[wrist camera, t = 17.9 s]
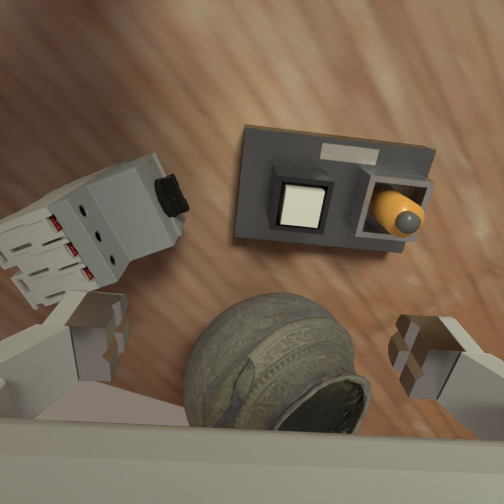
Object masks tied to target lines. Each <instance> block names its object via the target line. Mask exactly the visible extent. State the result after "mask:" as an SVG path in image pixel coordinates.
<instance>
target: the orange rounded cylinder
mask: <svg viewBox="0 0 504 504" xmlns="http://www.w3.org/2000/svg"><path fill="white" fill-rule="evenodd" d="M368 212H369V213H370V214H371V215H372V216H373V217H374V218H375V219H376V220H377V221H378V222H379V223H380V224H381V225H382V226H383V227H384V228H385V229H386V230H387V231H388V232H389V233H390V234H392V235H393V236H395V237H398V238H406V237H409V236H412V235H413V234H415V233H416V232H417V231H418V230H419V229H420V228H421V227H422V225H423V222H424V211H423V209H422V208H421V207H420V206H419V205H418V204H416V203H415V202H413V201H412V200H410V199H409V198H407V197H405V196H404V195H402V194H401V193H399V192H398V191H396V190H395V189H393V188H391V187H389V186H381V187H378V188H376V189H374V190H373V193H372V196H371V200H370V204H369V207H368Z"/></svg>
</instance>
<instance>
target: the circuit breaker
mask: <svg viewBox="0 0 504 504" xmlns="http://www.w3.org/2000/svg"><path fill="white" fill-rule="evenodd" d="M178 185H179V184H178V182H177V180H176V177H175V175H174V174H172V175H169V176H166V173H165V171H164V169H163V167H162V165H161V163H160V161H159V159H158V157H157V154H156V152H152V153H150V154H147V155H145V156H142V157H140V158H137V159H134V160H132V161H129V162H128V161H127V160H125V161H122V162H120V163H117V164H115V165H112V166H110V167H107V168H105V169H102V170H99V171H97V172H94V173H92V174H89V175H87V176H84V177H82V178H79V179H77V180H74V181H72V182H71V183H69V184H67V183H66V184H64V185H63V186H62V187H59V188H57V189H55V190H53V191H51V192H50V193H48V194H46V195H44V197H43V198H41V199H39V200H38V201H36V202H34V203H32V204H31V205H29V206H27V207H25V208H23V209H22V210H20V211H18V212H16V213H14V214H11V215H9V216H6V217H5V218H3V219H1V220H0V251H1V252H2V253H3V255H4V256H5V257H6V259H5V260H4V259H3V257H2V256H1V255H0V266H1V267H2V268H3V270H5V269H8V268H10V267H13V266H16V265H17V266H18V267H19V269H20V270H19V271H18V272H17V273H15V274H14V275H13V276H12V277H11V278H10V279H11V280H12V281H13V283H14V284H15V285H16V287H17V288H18V289H19V290H20V292H21V293H22V294H23V296H24V297H25V298H26V299H27V301H28V302H29V303H30V305H31V306H32V307H33V309H34V310H37V309H38V308H39V306H38V305H39V304H41V303H43V304H44V305H45V306H49V305H52V304H54V303H57V302H60V301H61V300H62V299H63V298H64V296H65V295H66V294H67V293H68V291H70V290H87V291H92V290H95V289H98V288H101V287H104V286H107V285H110V284H112V283H115V282H117V281H118V280H119V278H120V277H121V275H122V274H123V272H124V271H125V269H126V268H127V266H128V264H129V263H130V261H132V260H135V259H138V258H141V257H143V256H146V255H149V254H152V253H155V252H158V251H160V250H163V249H166V248H169V247H172V246H174V245H175V243H176V241H177V238H178V236H180V235H182V233H183V231H182V227H183V224H184V222H185V220H186V216H185V213H184V212H187V211H189V206H188V203H187V201H186V199H184V197H183V194H182V192H181V190H180V188H179V186H178ZM21 279H22V280H23V281H24V283H25V284H26V285H27V286H28V288H27V289H26V287H25V286H24V285H23V284H22V282H21V281H20V280H21Z"/></svg>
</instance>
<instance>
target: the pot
mask: <svg viewBox="0 0 504 504" xmlns="http://www.w3.org/2000/svg"><path fill="white" fill-rule="evenodd" d="M354 357H355V354H354V347H353V343H352V340H351V337H350V335H349V333H348V331H347V330H346V329H345V328H344V327H343V326H342V325H341V324H340V323H339V322H338V321H337V320H336V319H335V318H334V317H333V316H332V315H331V313H330V312H329V311H328V310H327V309H325V308H324V307H323V306H321V305H319V304H318V303H316V302H314V301H312V300H310V299H307V298H304V297H302V296H299V295H296V294H290V293H270V294H262V295H257V296H254V297H251V298H248V299H246V300H243V301H241V302H239V303H237V304H235V305H233V306H231V307H230V308H228V309H227V310H225V311H224V312H223V313H221V314H220V315H219V316H218V317H216V318H215V319H214V320H213V321H212V322H211V323H210V325H209V326H208V327H207V328H206V329H205V330H204V332H203V333H202V334H201V336H200V337H199V338H198V340H197V341H196V343H195V345H194V347H193V349H192V351H191V354H190V356H189V359H188V361H187V364H186V368H185V372H184V378H183V389H182V394H183V401H184V408H185V412H186V416H187V419H188V422H189V425H190V427H209V428H231V429H252V430H274V431H296V432H318V433H340V434H344V433H343V432H345V434H355V433H356V432H357V430H358V429H359V428H360V426H361V423H362V421H363V419H364V417H365V414H366V412H367V410H368V407H369V404H370V401H371V386H370V382H369V381H368V380H367V379H366V378H365V377H363V376H360V375H357V374H356V372H355V369H354V364H353V360H354ZM360 387H361V388H360ZM360 390H361V391H360ZM364 394H365V396H363V395H364ZM348 429H349V430H348ZM347 430H348V431H347Z"/></svg>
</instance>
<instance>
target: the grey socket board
mask: <svg viewBox="0 0 504 504" xmlns="http://www.w3.org/2000/svg"><path fill="white" fill-rule="evenodd" d="M435 153H436V150H434V149H431V148H428V147H425V146H421V145H412V144H404V143H396V142H387V141H379V140H371V139H363V138H354V137H346V136H338V135H329V134H321V133H313V132H304V131H296V130H288V129H279V128H271V127H263V126H254V125H245V135H244V144H243V154H242V164H241V174H240V184H239V194H238V204H237V213H236V223H235V237H241V238H251V239H261V240H271V241H282V242H292V243H302V244H312V245H323V246H333V247H343V248H353V249H364V250H374V251H384V252H394V253H402V251H403V248H404V245H405V242H415V239H416V237H417V234H418V231H419V230H418V231H417V232H416V233H415V234H413V235H412V236H409V237H406V238H398V237H395V236H393V235H392V234H390V233H389V232H388V231H387V230H386V229H385V228H384V227H383V226H382V225H381V224H380V223H379V222H378V221H377V220H376V219H375V218H374V217H373V216H372V215H371V214H370V213H369V212H368V207H369V204H370V200H371V196H372V193H373V190H374V189H376V188H378V187H381V186H389V187H391V188H393V189H395V190H396V191H398V192H399V193H401V194H402V195H404V196H405V197H407V198H409V199H410V200H412V201H413V202H415V203H416V204H418V205H419V206H420V207H421V208H422V209H423V211H424V213H425V211H426V208H427V205H428V202H429V199H430V196H431V193H432V190H433V187H434V185H435V182H434V181H432V180H430V179H428V178H427V177H428V174H429V171H430V168H431V165H432V162H433V159H434V156H435ZM282 181H283V182H292V183H301V184H311V185H320V186H321V187H322V189H323V190H324V191H325V194H324V198H323V203H322V208H321V213H320V217H319V222H318V227H317V228H314V227H304V226H294V225H284V224H280V220H279V216H278V206H279V199H280V193H281V186H282Z"/></svg>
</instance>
